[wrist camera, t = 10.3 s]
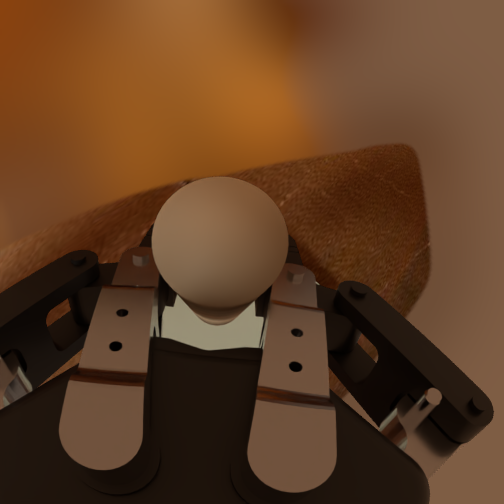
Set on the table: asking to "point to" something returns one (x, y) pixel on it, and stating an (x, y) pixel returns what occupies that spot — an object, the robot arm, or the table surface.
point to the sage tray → (211, 328)
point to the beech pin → (219, 246)
